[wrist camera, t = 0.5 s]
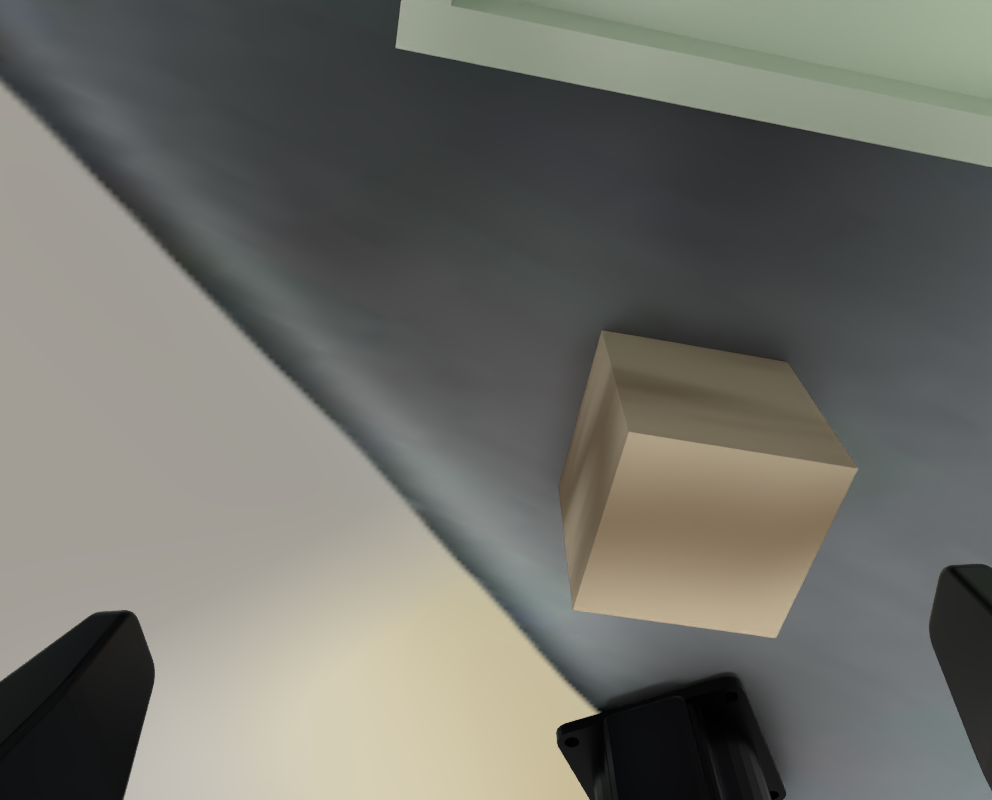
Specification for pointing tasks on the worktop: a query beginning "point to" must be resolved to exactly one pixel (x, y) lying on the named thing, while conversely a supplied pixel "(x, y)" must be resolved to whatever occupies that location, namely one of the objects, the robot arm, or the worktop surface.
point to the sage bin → (749, 59)
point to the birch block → (696, 486)
